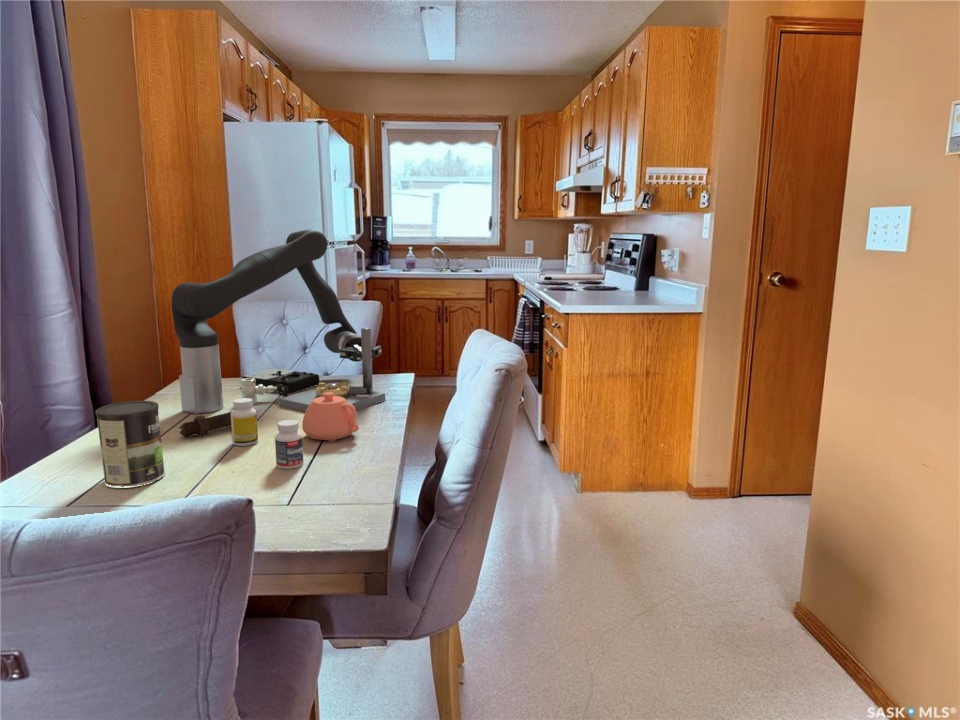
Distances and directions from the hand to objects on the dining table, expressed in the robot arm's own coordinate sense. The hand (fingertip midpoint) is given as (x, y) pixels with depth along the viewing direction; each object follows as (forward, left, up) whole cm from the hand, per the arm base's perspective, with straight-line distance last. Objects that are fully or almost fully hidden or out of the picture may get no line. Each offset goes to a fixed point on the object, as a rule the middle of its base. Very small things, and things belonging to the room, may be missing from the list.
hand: (369, 357), depth 176 cm
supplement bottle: (-44, -2, -12) cm, 45 cm away
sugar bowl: (-30, -15, -12) cm, 35 cm away
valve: (-17, +24, -12) cm, 32 cm away
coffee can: (-69, -2, -12) cm, 70 cm away
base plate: (-9, +6, -12) cm, 16 cm away
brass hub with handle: (-6, +4, -10) cm, 12 cm away
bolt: (-42, +11, -12) cm, 45 cm away
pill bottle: (-48, -21, -12) cm, 53 cm away
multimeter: (-3, +34, -13) cm, 36 cm away
